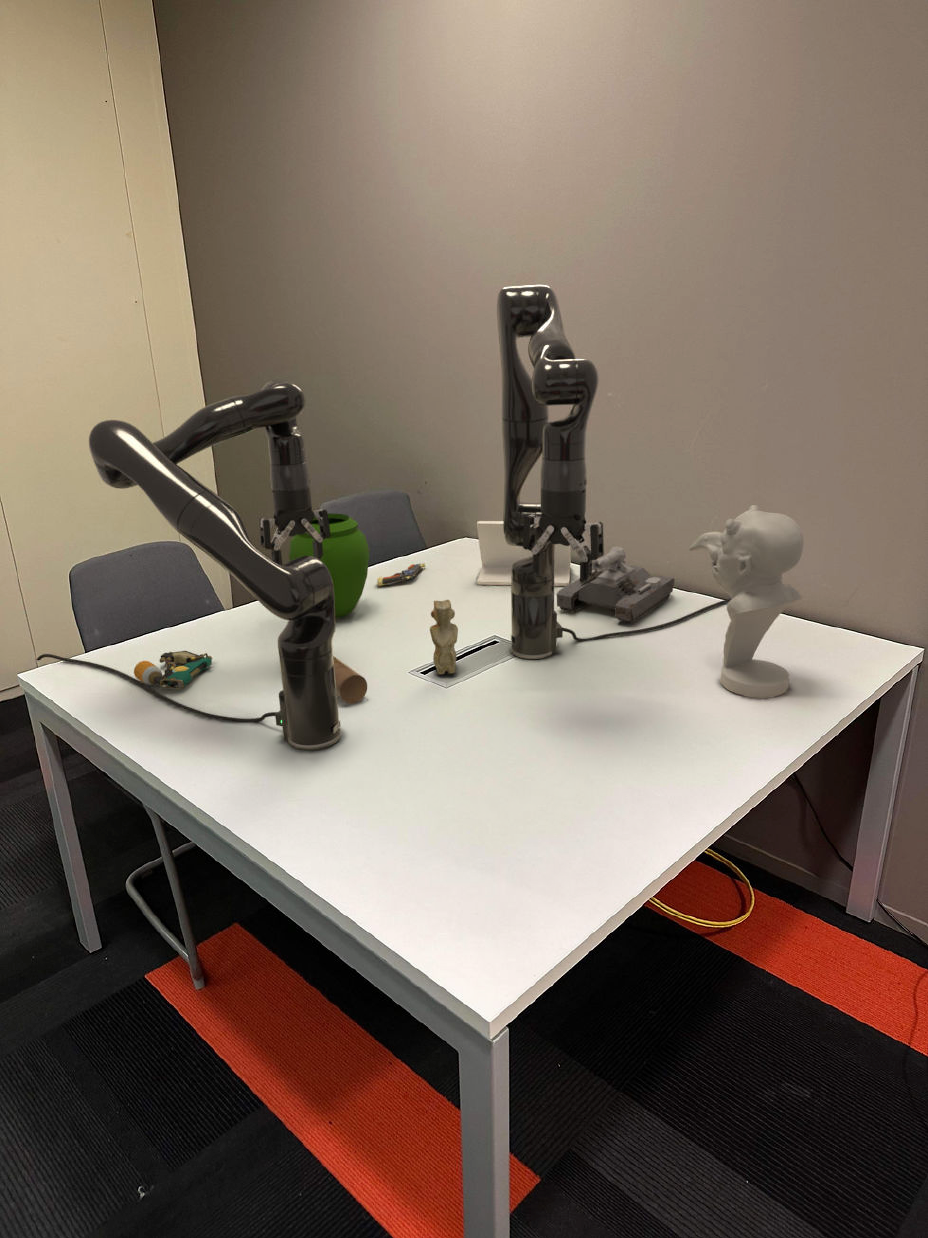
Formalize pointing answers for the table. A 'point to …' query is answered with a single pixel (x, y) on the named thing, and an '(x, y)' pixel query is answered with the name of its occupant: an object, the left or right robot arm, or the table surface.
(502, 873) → the table surface
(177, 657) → the spray gun
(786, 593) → the bust sculpture
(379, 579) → the toy gun
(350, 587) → the vase
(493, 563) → the tablet stand
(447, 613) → the sculpture
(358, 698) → the rod
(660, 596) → the toy
